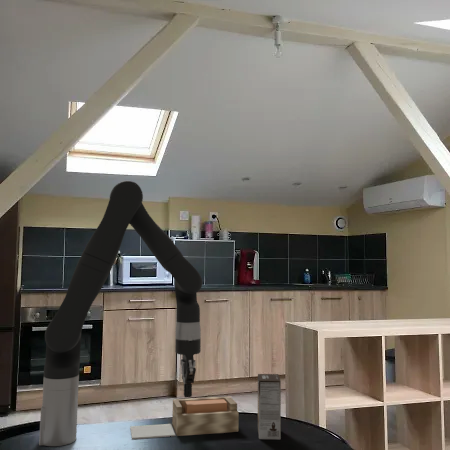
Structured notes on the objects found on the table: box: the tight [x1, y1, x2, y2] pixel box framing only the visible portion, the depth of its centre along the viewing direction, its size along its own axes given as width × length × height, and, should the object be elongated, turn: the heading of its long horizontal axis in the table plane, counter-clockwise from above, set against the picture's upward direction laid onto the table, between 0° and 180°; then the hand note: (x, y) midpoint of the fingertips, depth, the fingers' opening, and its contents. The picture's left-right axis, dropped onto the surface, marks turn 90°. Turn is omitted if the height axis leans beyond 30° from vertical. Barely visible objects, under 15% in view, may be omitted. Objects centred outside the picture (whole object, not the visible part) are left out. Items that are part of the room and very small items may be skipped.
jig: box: [171, 395, 240, 437], centre depth 139 cm, size 18×10×8 cm, turn 104°
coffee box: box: [257, 373, 282, 440], centre depth 135 cm, size 9×6×16 cm
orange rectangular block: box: [185, 399, 227, 414], centre depth 140 cm, size 12×4×4 cm, turn 104°
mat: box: [129, 423, 176, 440], centre depth 135 cm, size 12×10×1 cm
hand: (187, 396), depth 139 cm, fingers closed
